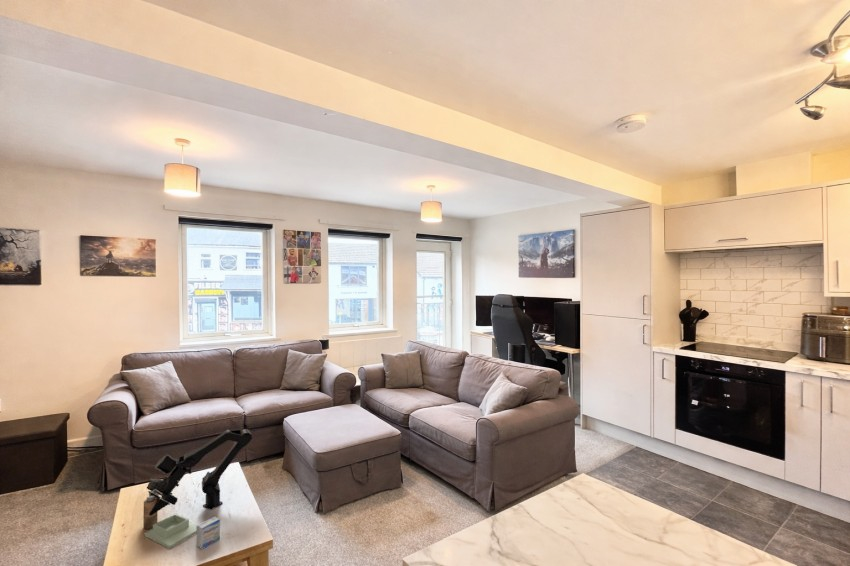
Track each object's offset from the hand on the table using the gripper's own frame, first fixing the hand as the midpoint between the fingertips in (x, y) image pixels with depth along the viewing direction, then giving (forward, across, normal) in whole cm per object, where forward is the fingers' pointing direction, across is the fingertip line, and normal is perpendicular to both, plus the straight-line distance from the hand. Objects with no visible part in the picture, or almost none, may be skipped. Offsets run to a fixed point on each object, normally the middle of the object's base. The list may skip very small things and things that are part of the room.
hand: (147, 513), depth 177 cm
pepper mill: (+4, 0, +6) cm, 7 cm away
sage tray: (+1, +14, +8) cm, 16 cm away
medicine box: (-2, +32, +12) cm, 34 cm away
